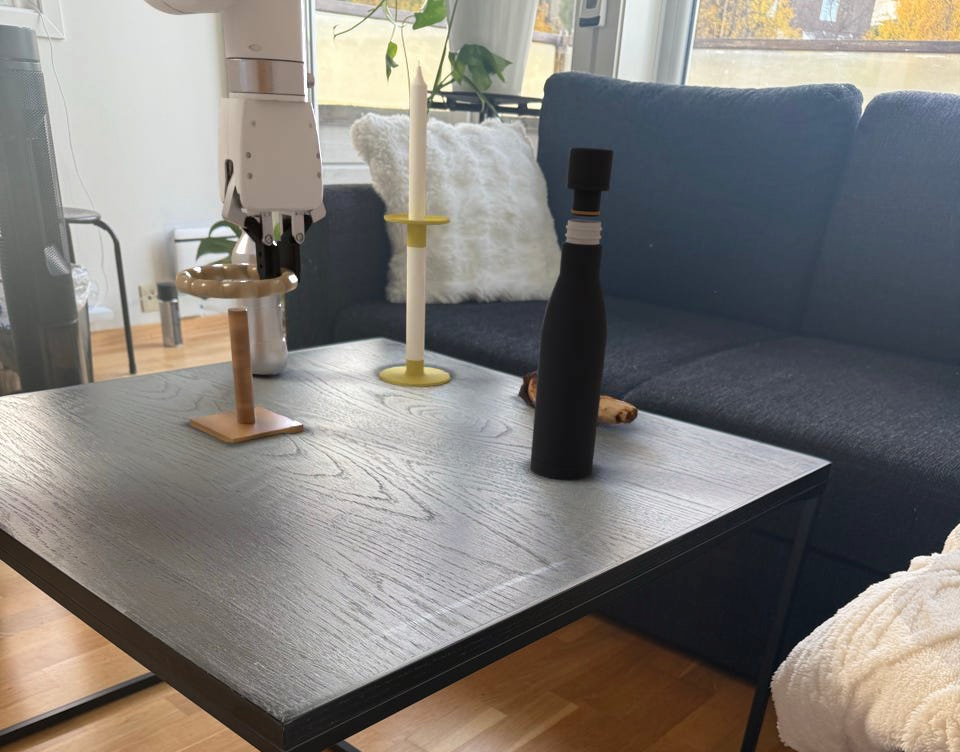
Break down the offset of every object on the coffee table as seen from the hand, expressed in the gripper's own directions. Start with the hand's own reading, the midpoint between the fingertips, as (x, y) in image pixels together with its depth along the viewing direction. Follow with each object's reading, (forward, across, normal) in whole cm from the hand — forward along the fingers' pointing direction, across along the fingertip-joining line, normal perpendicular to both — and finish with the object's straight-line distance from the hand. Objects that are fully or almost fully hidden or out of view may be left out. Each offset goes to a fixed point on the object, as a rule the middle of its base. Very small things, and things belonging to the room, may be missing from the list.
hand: (279, 281), depth 99 cm
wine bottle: (+16, -12, +31) cm, 37 cm away
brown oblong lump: (+16, -28, +18) cm, 37 cm away
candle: (+16, -26, -8) cm, 32 cm away
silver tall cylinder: (+16, -10, -21) cm, 28 cm away
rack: (+16, +6, 0) cm, 16 cm away
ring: (-1, +5, 0) cm, 5 cm away
